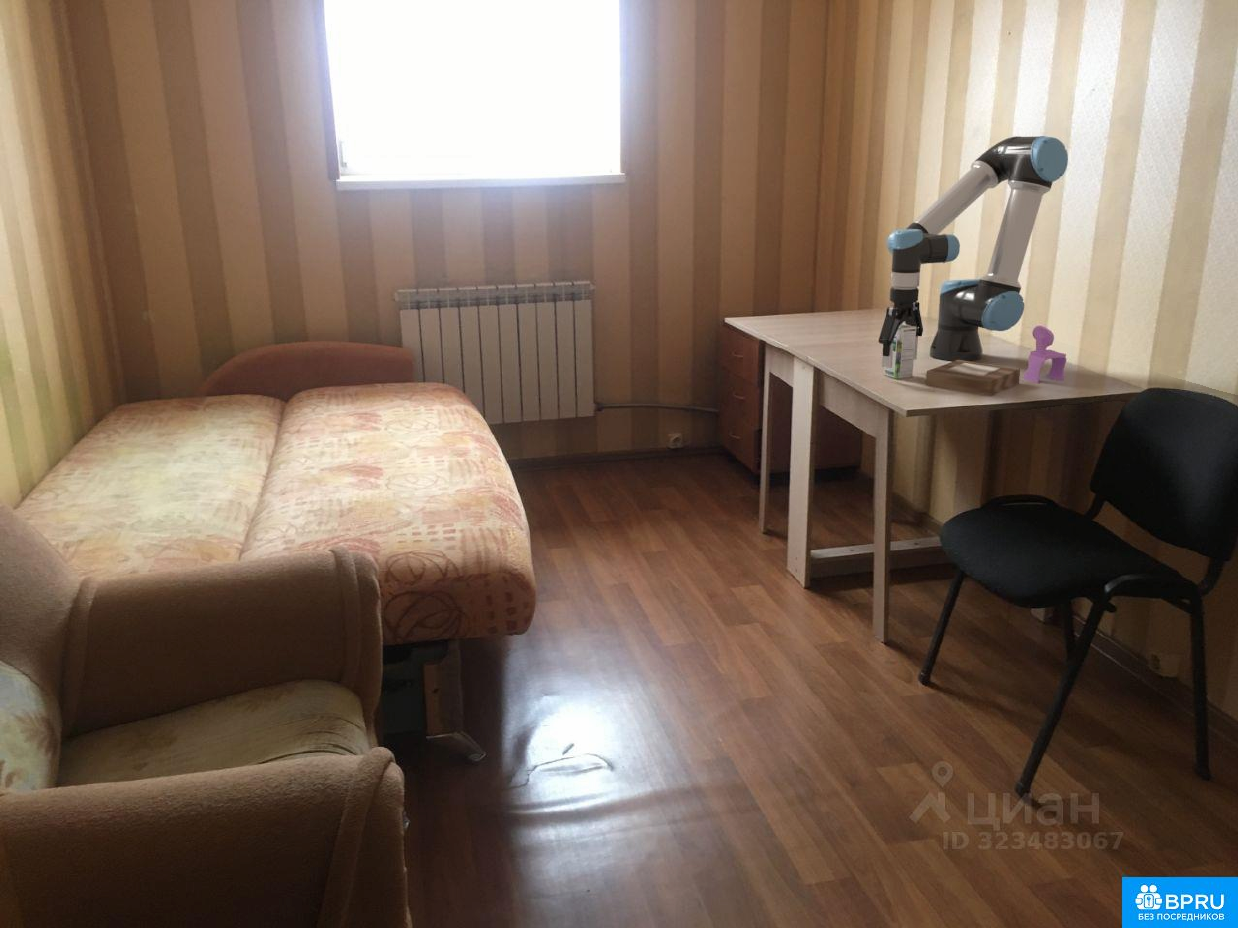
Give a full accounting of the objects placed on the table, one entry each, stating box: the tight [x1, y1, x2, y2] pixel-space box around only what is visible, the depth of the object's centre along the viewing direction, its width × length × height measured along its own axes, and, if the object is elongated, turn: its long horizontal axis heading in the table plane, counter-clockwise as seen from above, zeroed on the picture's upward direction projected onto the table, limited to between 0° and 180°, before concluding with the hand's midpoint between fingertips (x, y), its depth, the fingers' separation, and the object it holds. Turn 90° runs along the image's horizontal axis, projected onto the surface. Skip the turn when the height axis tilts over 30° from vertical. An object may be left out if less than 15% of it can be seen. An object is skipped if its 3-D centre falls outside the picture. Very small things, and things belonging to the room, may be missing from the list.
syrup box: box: [884, 323, 916, 380], centre depth 283 cm, size 6×6×14 cm
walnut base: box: [925, 360, 1021, 397], centre depth 274 cm, size 18×18×4 cm
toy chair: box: [1022, 325, 1067, 384], centre depth 277 cm, size 8×9×15 cm
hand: (899, 363), depth 284 cm, fingers open, 13 cm apart
